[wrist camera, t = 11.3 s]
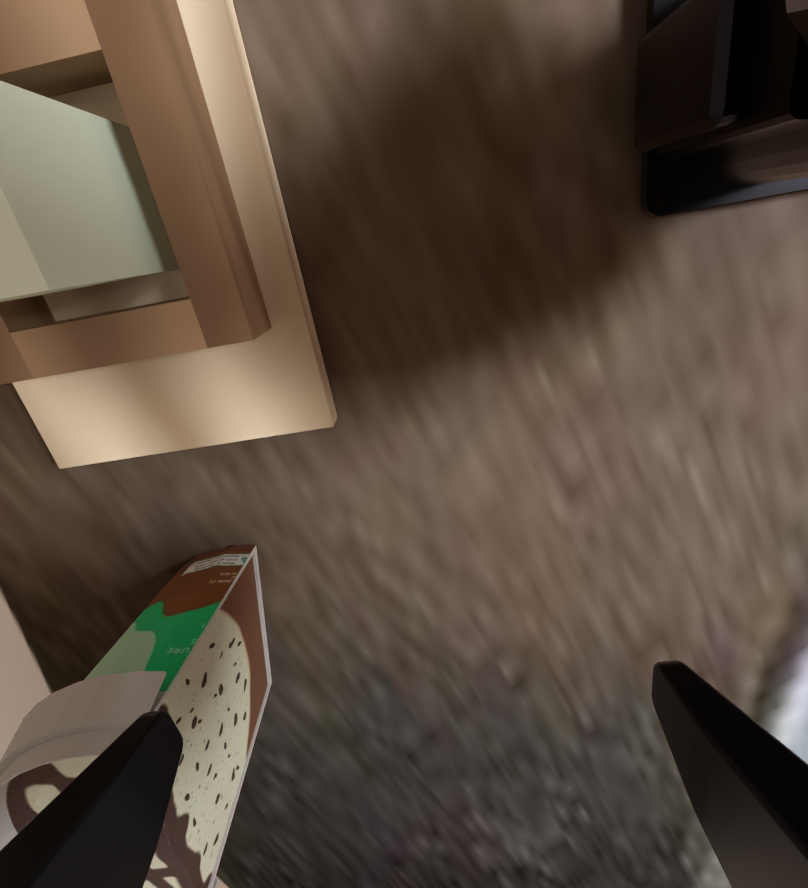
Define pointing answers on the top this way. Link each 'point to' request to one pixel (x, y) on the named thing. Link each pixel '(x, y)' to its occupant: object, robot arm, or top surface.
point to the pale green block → (72, 200)
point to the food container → (170, 689)
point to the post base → (190, 234)
